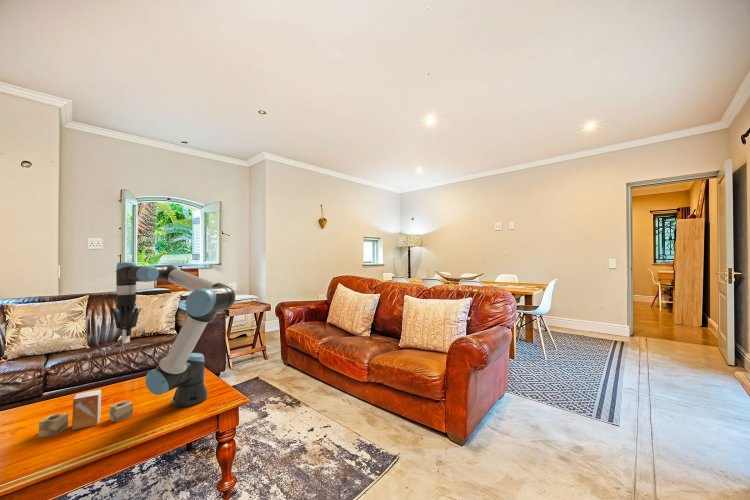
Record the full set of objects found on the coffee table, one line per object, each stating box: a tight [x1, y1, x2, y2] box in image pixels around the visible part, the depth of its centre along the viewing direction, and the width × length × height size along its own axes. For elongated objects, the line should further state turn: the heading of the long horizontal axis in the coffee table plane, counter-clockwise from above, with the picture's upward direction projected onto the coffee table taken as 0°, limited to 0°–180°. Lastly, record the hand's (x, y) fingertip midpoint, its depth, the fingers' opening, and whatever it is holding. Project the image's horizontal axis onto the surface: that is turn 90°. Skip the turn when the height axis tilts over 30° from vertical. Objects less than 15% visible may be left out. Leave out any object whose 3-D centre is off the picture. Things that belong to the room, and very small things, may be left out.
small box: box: [71, 389, 102, 431], centre depth 130 cm, size 8×6×13 cm
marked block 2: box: [108, 400, 134, 423], centre depth 136 cm, size 6×6×6 cm
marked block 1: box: [38, 412, 70, 438], centre depth 125 cm, size 6×6×6 cm
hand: (126, 342), depth 146 cm, fingers closed
